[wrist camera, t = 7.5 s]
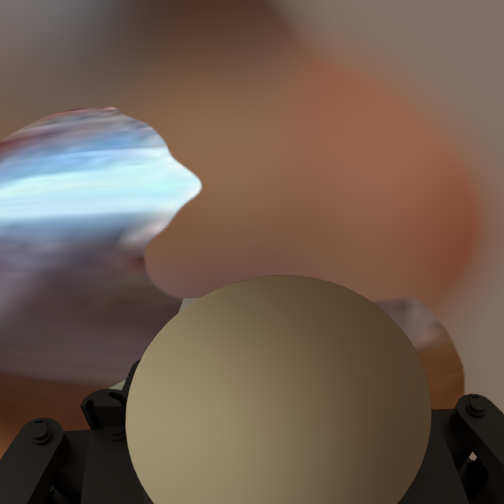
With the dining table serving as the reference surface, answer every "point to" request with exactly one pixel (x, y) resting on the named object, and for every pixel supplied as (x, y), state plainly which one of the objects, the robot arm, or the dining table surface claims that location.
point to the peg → (279, 399)
